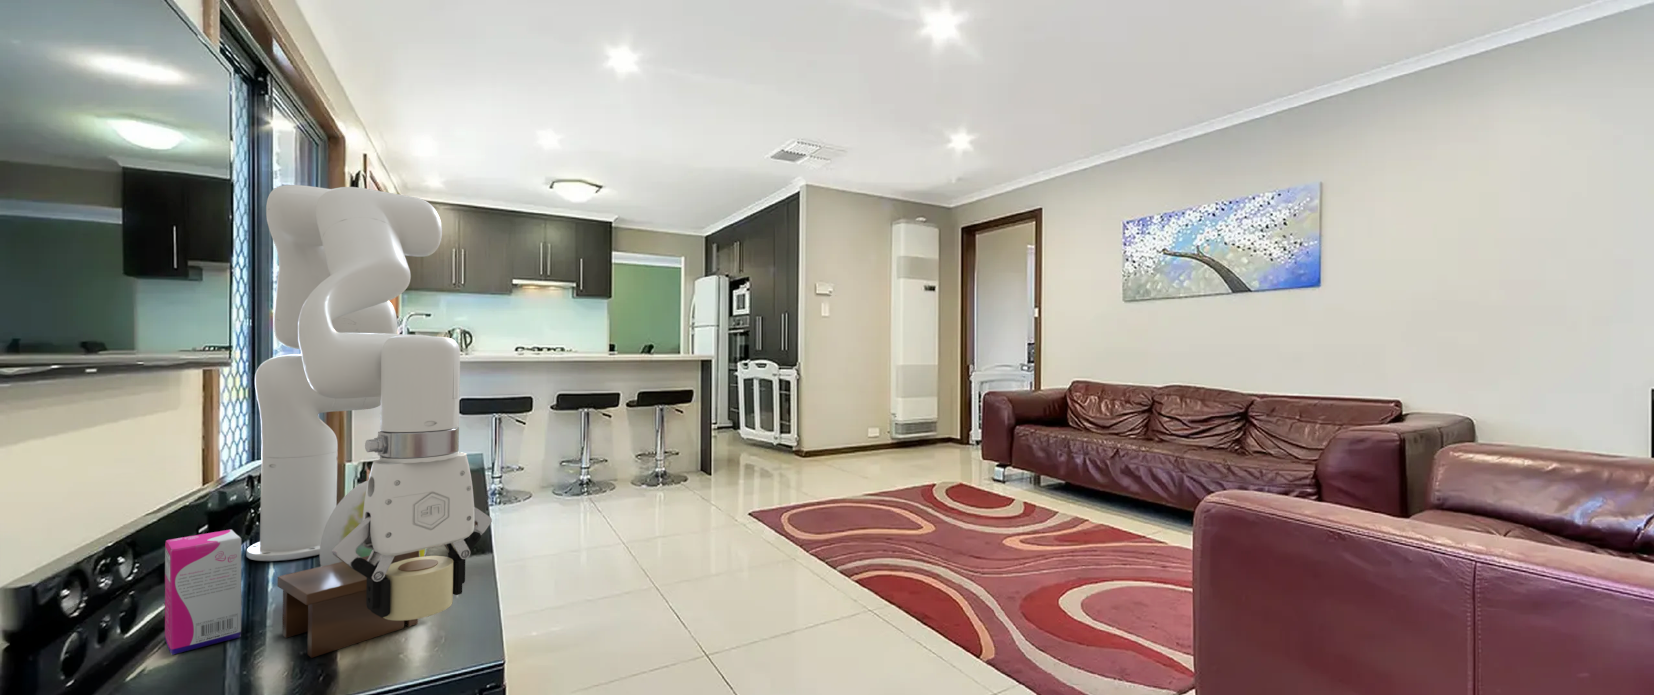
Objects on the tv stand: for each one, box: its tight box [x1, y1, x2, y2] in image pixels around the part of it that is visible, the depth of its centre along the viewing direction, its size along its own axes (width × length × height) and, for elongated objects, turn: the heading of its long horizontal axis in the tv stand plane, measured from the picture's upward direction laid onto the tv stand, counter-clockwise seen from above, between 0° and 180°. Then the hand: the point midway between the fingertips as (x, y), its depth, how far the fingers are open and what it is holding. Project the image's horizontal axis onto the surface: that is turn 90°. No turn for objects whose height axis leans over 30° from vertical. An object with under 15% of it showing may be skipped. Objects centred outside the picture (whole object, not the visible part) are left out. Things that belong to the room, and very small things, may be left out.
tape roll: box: [383, 555, 454, 621], centre depth 72 cm, size 7×7×5 cm
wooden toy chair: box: [277, 551, 419, 659], centre depth 75 cm, size 9×11×16 cm
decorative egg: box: [319, 480, 428, 567], centre depth 88 cm, size 12×12×15 cm
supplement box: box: [164, 529, 242, 656], centre depth 72 cm, size 6×6×12 cm
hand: (417, 601), depth 72 cm, fingers closed on tape roll, 6 cm apart
